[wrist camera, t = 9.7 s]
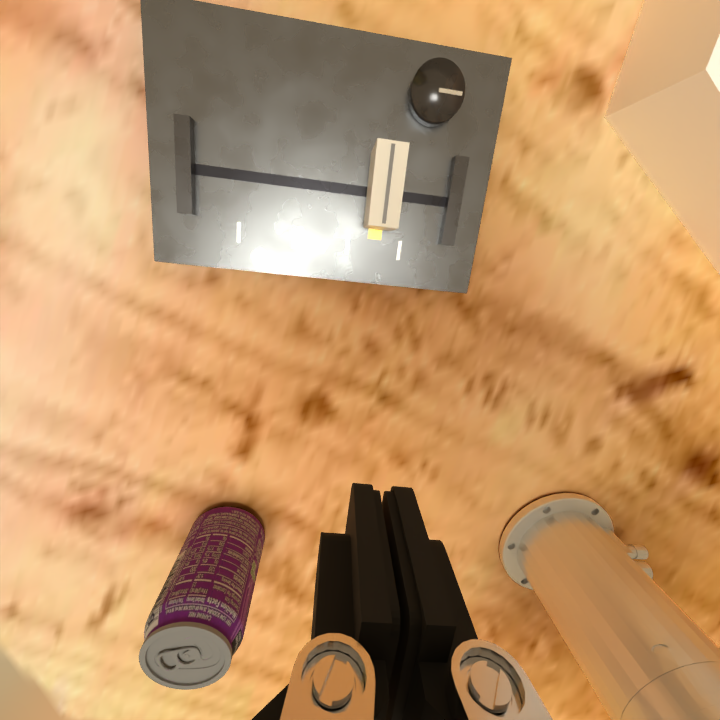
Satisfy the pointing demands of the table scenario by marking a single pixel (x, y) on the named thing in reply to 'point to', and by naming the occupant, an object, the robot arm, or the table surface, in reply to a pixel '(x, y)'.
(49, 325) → the table surface
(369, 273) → the console
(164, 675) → the beverage can
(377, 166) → the fader
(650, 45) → the tiered cake
